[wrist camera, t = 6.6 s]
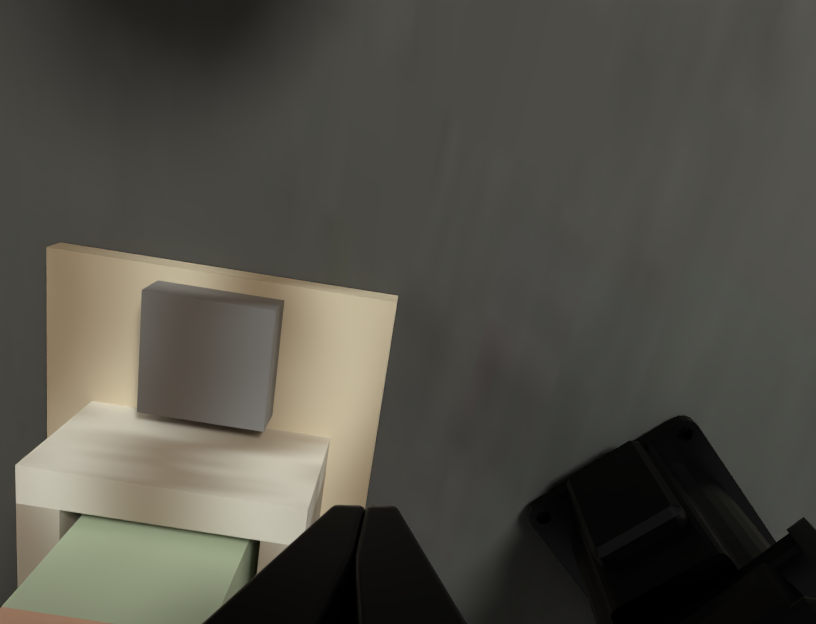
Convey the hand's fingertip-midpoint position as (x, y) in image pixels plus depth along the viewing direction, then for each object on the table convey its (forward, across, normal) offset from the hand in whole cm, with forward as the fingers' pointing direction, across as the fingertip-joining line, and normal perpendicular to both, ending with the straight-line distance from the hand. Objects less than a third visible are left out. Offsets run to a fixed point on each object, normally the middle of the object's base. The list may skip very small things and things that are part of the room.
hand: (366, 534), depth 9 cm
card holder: (+13, +7, +8) cm, 17 cm away
